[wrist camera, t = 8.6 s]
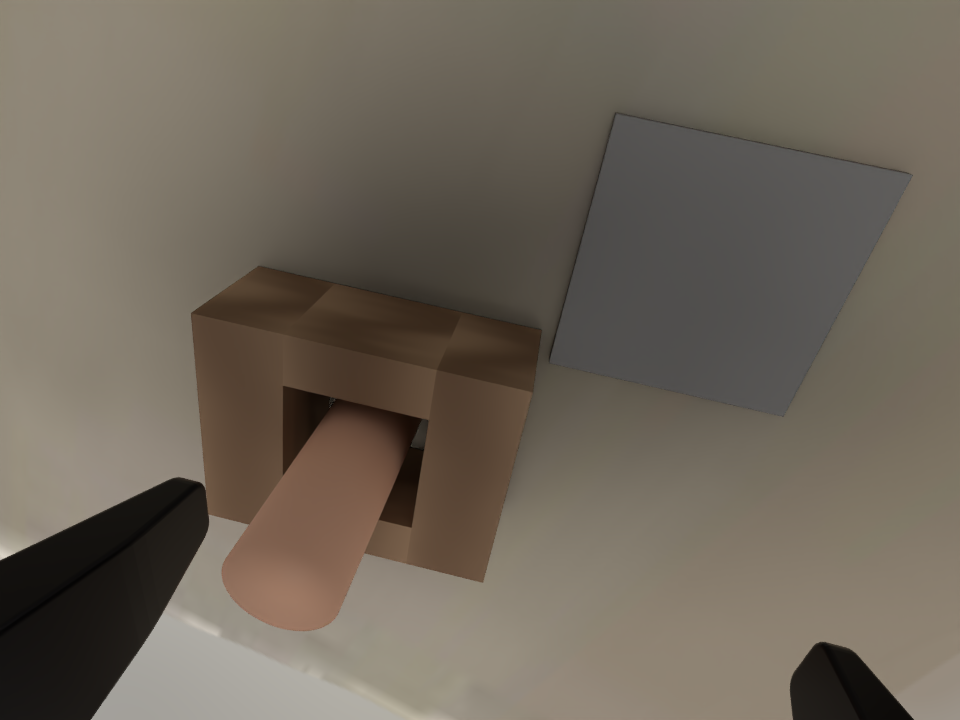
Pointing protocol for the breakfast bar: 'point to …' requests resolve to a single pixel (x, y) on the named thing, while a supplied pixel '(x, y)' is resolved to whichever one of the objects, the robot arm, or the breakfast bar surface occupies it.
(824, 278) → the mat
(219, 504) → the hole block
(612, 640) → the breakfast bar surface
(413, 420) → the peg
